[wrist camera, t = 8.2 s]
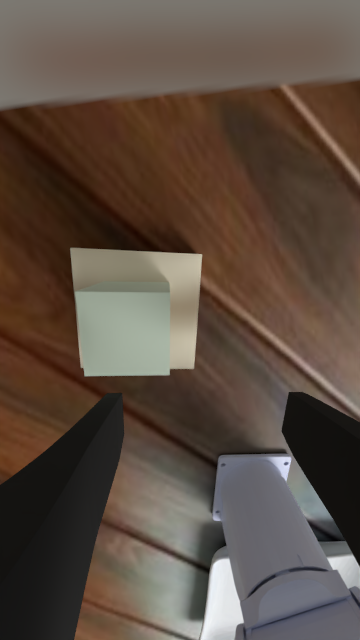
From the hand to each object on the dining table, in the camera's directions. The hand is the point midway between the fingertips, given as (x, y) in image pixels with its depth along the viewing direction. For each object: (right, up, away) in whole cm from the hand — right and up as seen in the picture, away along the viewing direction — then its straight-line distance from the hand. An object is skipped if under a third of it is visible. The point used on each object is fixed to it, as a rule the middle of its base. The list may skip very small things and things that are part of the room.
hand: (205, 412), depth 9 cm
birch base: (-4, +5, +10) cm, 12 cm away
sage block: (-4, +4, +7) cm, 9 cm away
